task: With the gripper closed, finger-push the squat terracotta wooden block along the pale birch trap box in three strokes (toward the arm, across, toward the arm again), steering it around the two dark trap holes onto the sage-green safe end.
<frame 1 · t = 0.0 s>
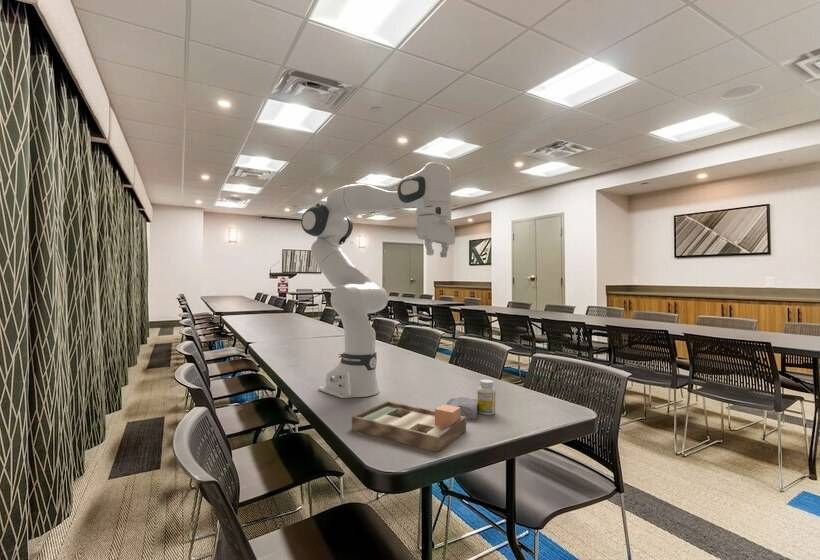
hand: (437, 256, 122), 48 cm above the table, fingers open, 8 cm apart
block: (447, 423, 100), point 2 cm above the table, touching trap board
supplement bottle: (486, 413, 117), on the table, touching stone block
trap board: (409, 429, 102), on the table
stone block: (461, 414, 117), on the table, touching supplement bottle
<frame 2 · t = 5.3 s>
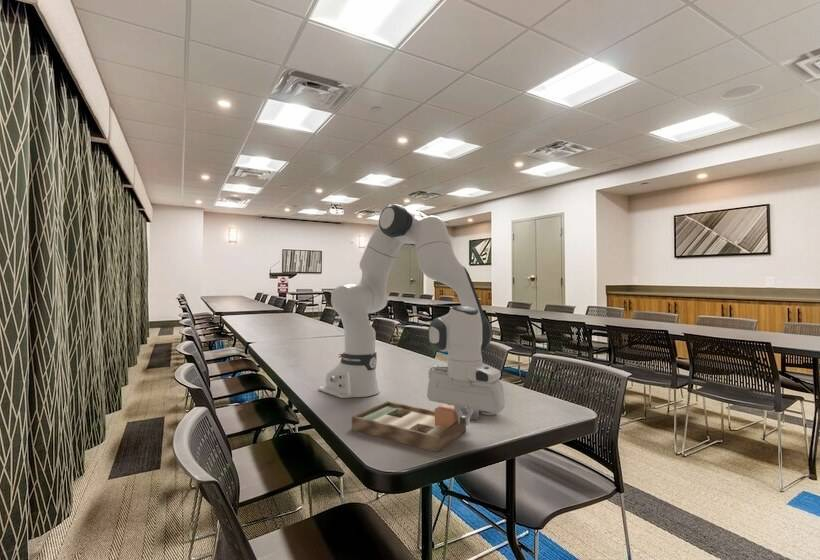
hand: (463, 423, 98), 3 cm above the table, fingers closed
block: (447, 423, 100), point 2 cm above the table, touching gripper, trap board
supplement bottle: (487, 413, 117), on the table
stone block: (462, 414, 116), on the table
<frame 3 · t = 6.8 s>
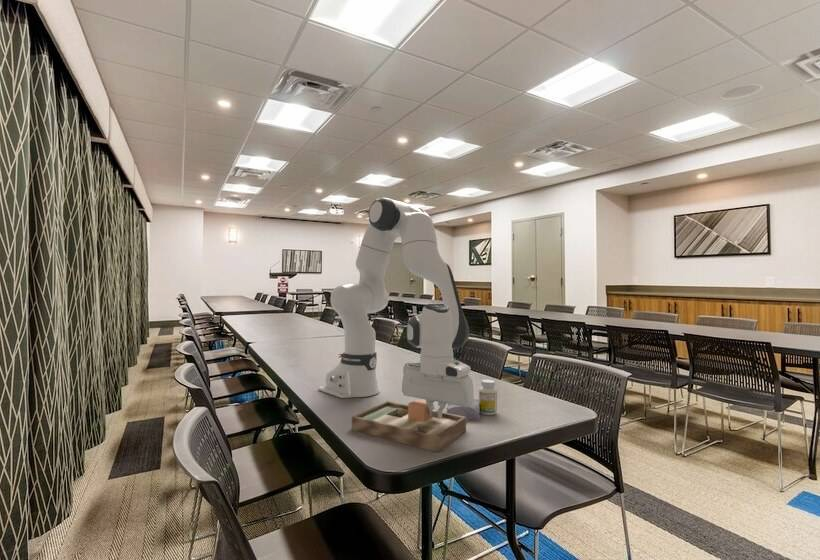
hand: (435, 417, 102), 3 cm above the table, fingers closed
block: (420, 417, 104), point 2 cm above the table, touching gripper
supplement bottle: (487, 413, 117), on the table, touching stone block
stone block: (463, 414, 116), on the table, touching supplement bottle
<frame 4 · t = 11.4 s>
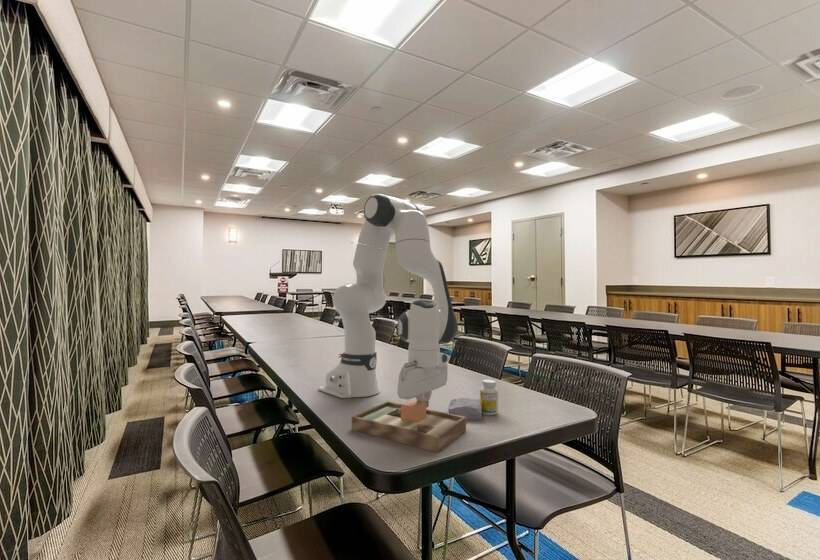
hand: (423, 407, 107), 4 cm above the table, fingers closed
block: (413, 418, 104), point 2 cm above the table, touching gripper
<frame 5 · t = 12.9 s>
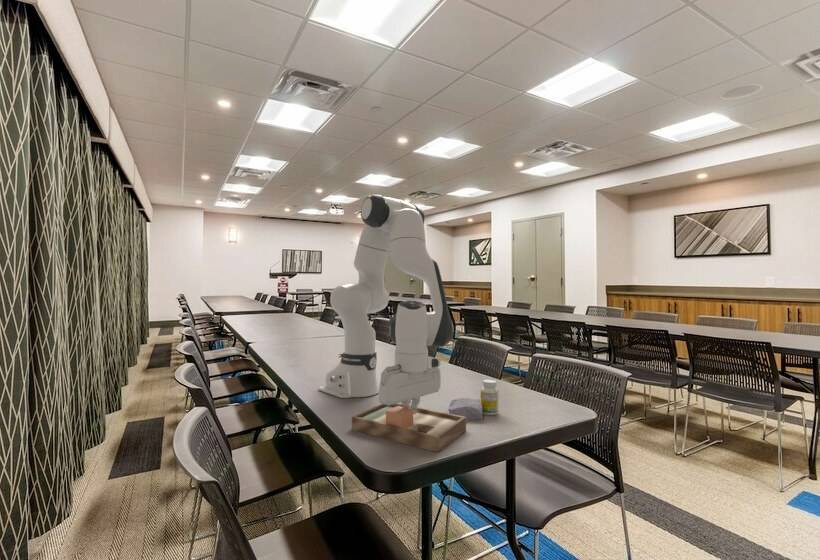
hand: (410, 414, 101), 4 cm above the table, fingers closed
block: (399, 425, 98), point 2 cm above the table, touching gripper, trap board
supplement bottle: (489, 413, 117), on the table
stone block: (464, 414, 116), on the table
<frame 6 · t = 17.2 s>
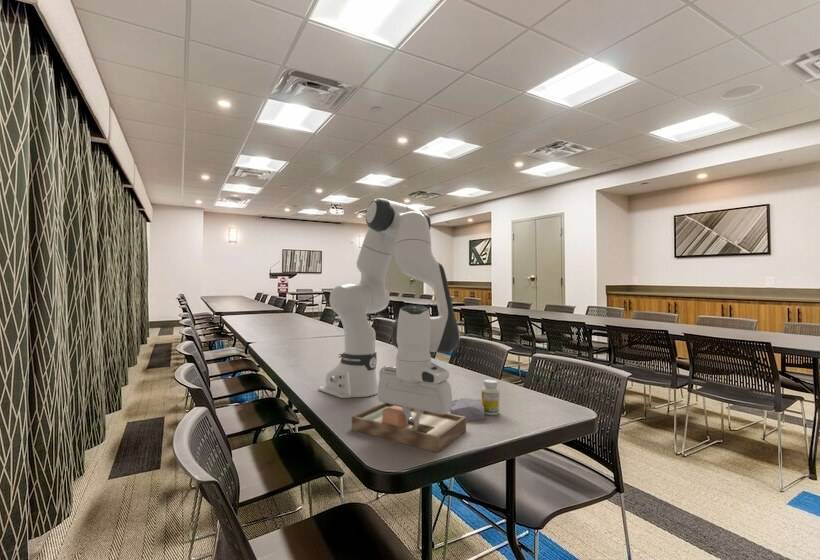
hand: (412, 425, 96), 3 cm above the table, fingers closed
block: (395, 425, 98), point 2 cm above the table, touching gripper, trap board
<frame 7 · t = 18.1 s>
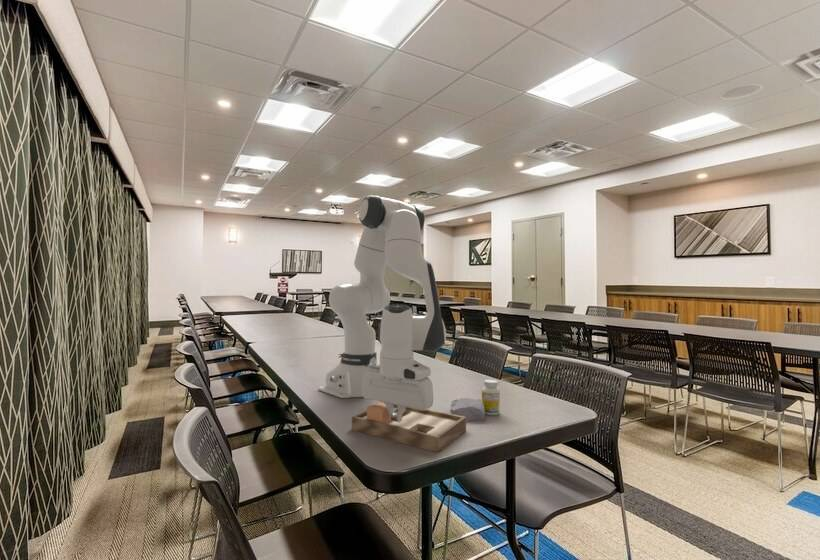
hand: (395, 420, 99), 3 cm above the table, fingers closed
block: (380, 421, 101), point 2 cm above the table, touching gripper
everything else where it was.
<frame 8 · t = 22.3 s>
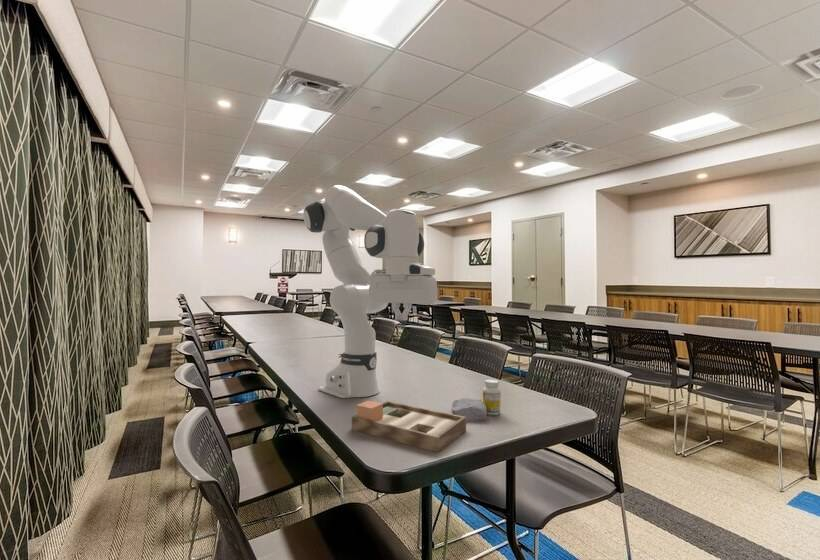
hand: (401, 320, 103), 29 cm above the table, fingers closed
block: (369, 419, 103), point 2 cm above the table, touching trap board
at the end: block inside the target area on the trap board (5.0 cm from its centre), point 2.4 cm above the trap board's base; block tilted 0°; block touching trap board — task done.
